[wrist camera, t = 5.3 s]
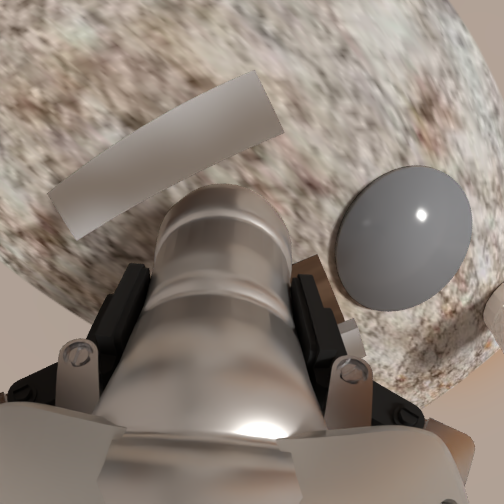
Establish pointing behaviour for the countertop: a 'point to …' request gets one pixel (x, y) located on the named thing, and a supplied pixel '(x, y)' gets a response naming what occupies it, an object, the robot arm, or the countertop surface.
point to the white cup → (496, 315)
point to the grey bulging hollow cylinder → (211, 363)
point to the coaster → (403, 238)
